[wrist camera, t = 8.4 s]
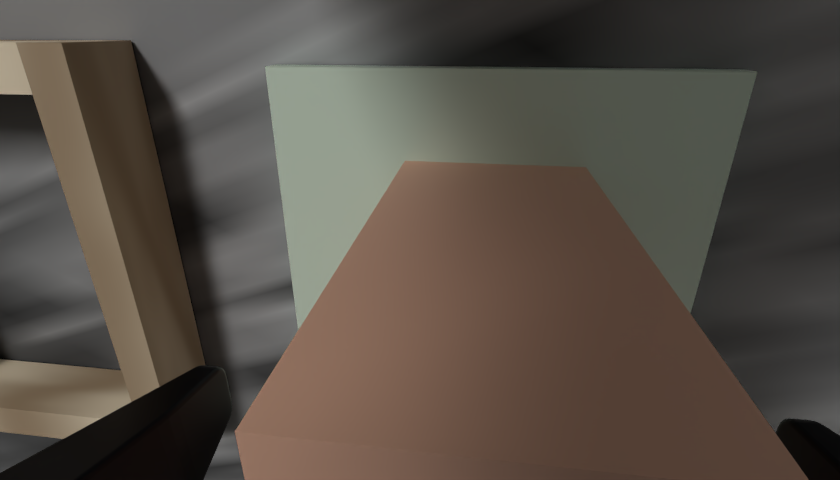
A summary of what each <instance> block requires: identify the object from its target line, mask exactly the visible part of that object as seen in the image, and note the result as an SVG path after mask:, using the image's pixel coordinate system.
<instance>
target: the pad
mask: <svg viewBox="0 0 840 480" xmlns="http://www.w3.org/2000/svg"><path fill="white" fill-rule="evenodd" d="M265 70H266V78H267V86H268V94H269V102H270V110H271V118H272V126H273V134H274V142H275V150H276V158H277V165H278V173H279V181H280V189H281V197H282V205H283V213H284V221H285V229H286V237H287V245H288V253H289V261H290V269H291V277H292V285H293V293H294V301H295V309H296V317H297V325H298V330H299V328H300V327H301V325H302V324H303V322H304V320H305V319H306V317H307V316H308V314H309V312H310V311H311V309H312V308H313V306H314V305H315V303H316V301H317V300H318V298H319V297H320V295H321V293H322V292H323V290H324V289H325V287H326V285H327V284H328V282H329V281H330V279H331V277H332V276H333V274H334V273H335V271H336V270H337V268H338V266H339V265H340V263H341V262H342V260H343V258H344V257H345V255H346V254H347V252H348V250H349V249H350V247H351V246H352V244H353V242H354V241H355V239H356V238H357V236H358V234H359V233H360V231H361V230H362V228H363V227H364V225H365V223H366V222H367V220H368V219H369V217H370V215H371V214H372V212H373V211H374V209H375V207H376V206H377V204H378V203H379V201H380V199H381V198H382V196H383V195H384V193H385V192H386V190H387V188H388V187H389V185H390V184H391V182H392V180H393V179H394V177H395V176H396V174H397V172H398V171H399V169H400V168H401V166H402V164H403V163H404V161H426V162H454V163H482V164H510V165H538V166H567V167H586V168H587V169H588V171H589V172H590V174H591V175H592V176H593V178H594V179H595V181H596V182H597V183H598V185H599V186H600V188H601V189H602V190H603V192H604V193H605V195H606V196H607V197H608V199H609V200H610V202H611V203H612V204H613V206H614V207H615V209H616V210H617V211H618V213H619V214H620V216H621V217H622V218H623V220H624V221H625V223H626V224H627V225H628V227H629V228H630V230H631V231H632V232H633V234H634V235H635V237H636V238H637V239H638V241H639V242H640V244H641V245H642V246H643V248H644V249H645V251H646V252H647V253H648V255H649V256H650V258H651V259H652V261H653V262H654V263H655V265H656V266H657V268H658V269H659V270H660V272H661V273H662V275H663V276H664V277H665V279H666V280H667V282H668V283H669V284H670V286H671V287H672V289H673V290H674V291H675V293H676V294H677V296H678V297H679V298H680V300H681V301H682V303H683V304H684V305H685V307H686V308H687V310H688V311H689V312H690V314H691V310H692V307H693V303H694V300H695V296H696V292H697V289H698V285H699V282H700V278H701V274H702V271H703V267H704V263H705V260H706V256H707V253H708V249H709V245H710V242H711V238H712V235H713V231H714V227H715V224H716V220H717V216H718V213H719V209H720V206H721V202H722V198H723V195H724V191H725V187H726V184H727V180H728V177H729V173H730V169H731V166H732V162H733V159H734V155H735V151H736V148H737V144H738V140H739V137H740V133H741V130H742V126H743V122H744V119H745V115H746V112H747V108H748V104H749V101H750V97H751V93H752V90H753V86H754V83H755V79H756V75H757V71H750V70H744V69H666V68H566V67H466V66H366V65H271V66H265Z"/></svg>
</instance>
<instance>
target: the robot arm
mask: <svg viewBox="0 0 840 480" xmlns="http://www.w3.org/2000/svg"><path fill="white" fill-rule="evenodd" d="M231 412H232V400H231V395H230V391H229V386H228V381H227V376H226V373H225V371H224V369H223V368H221V367H217V366H206V365H200V366H197V367H195V368H193V369H191V370H189V371H187V372H186V373H184V374H182V375H180V376H178V377H176V378H175V379H173V380H171V381H169V382H167V383H165V384H163V385H162V386H160V387H158V388H156V389H154V390H152V391H151V392H149V393H147V394H145V395H143V396H141V397H140V398H138V399H136V400H134V401H132V402H130V403H128V404H127V405H125V406H123V407H121V408H119V409H117V410H116V411H114V412H112V413H110V414H108V415H106V416H104V417H103V418H101V419H99V420H97V421H95V422H93V423H92V424H90V425H88V426H86V427H84V428H82V429H80V430H79V431H77V432H75V433H73V434H71V435H69V436H68V437H66V438H64V439H62V440H60V441H58V442H57V443H55V444H53V445H51V446H49V447H47V448H45V449H44V450H42V451H40V452H38V453H36V454H34V455H33V456H31V457H29V458H27V459H25V460H23V461H21V462H20V463H18V464H16V465H14V466H12V467H10V468H9V469H7V470H5V471H3V472H1V473H0V480H203V479H204V477H205V475H206V472H207V470H208V468H209V465H210V463H211V461H212V458H213V456H214V454H215V451H216V449H217V447H218V444H219V442H220V440H221V437H222V435H223V433H224V430H225V428H226V426H227V423H228V421H229V418H230V416H231ZM776 434H777V436H778V437H779V439H780V440H781V441H782V443H783V444H784V446H785V447H786V448H787V450H788V451H789V453H790V454H791V456H792V457H793V458H794V460H795V461H796V463H797V464H798V465H799V467H800V468H801V470H802V471H803V472H804V474H805V475H806V477H807V478H808V479H809V480H840V436H839V435H838V434H836V433H835V432H833V431H831V430H830V429H828V428H827V427H825V426H824V425H822V424H820V423H818V422H816V421H811V420H801V419H785V420H783V421H782V422H781V423H780V425H779V427H778V429H777V431H776Z"/></svg>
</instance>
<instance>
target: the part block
mask: <svg viewBox="0 0 840 480" xmlns="http://www.w3.org/2000/svg"><path fill="white" fill-rule="evenodd" d="M235 436H236V440H237V445H238V450H239V455H240V459H241V464H242V469H243V473H244V478H245V480H809V479H808V478H807V477H806V475H805V474H804V472H803V471H802V470H801V468H800V467H799V465H798V464H797V463H796V461H795V460H794V458H793V457H792V456H791V454H790V453H789V451H788V450H787V448H786V447H785V446H784V444H783V443H782V441H781V440H780V439H779V437H778V436H777V434H776V433H775V432H774V430H773V429H772V427H771V426H770V425H769V423H768V422H767V420H766V419H765V418H764V416H763V415H762V413H761V412H760V411H759V409H758V408H757V406H756V405H755V404H754V402H753V401H752V399H751V398H750V397H749V395H748V394H747V392H746V391H745V390H744V388H743V387H742V385H741V384H740V383H739V381H738V380H737V378H736V377H735V376H734V374H733V373H732V371H731V370H730V369H729V367H728V366H727V364H726V363H725V362H724V360H723V359H722V357H721V356H720V354H719V353H718V352H717V350H716V349H715V347H714V346H713V345H712V343H711V342H710V340H709V339H708V338H707V336H706V335H705V333H704V332H703V331H702V329H701V328H700V326H699V325H698V324H697V322H696V321H695V319H694V318H693V317H692V315H691V314H690V312H689V311H688V310H687V308H686V307H685V305H684V304H683V303H682V301H681V300H680V298H679V297H678V296H677V294H676V293H675V291H674V290H673V289H672V287H671V286H670V284H669V283H668V282H667V280H666V279H665V277H664V276H663V275H662V273H661V272H660V270H659V269H658V268H657V266H656V265H655V263H654V262H653V261H652V259H651V258H650V256H649V255H648V253H647V252H646V251H645V249H644V248H643V246H642V245H641V244H640V242H639V241H638V239H637V238H636V237H635V235H634V234H633V232H632V231H631V230H630V228H629V227H628V225H627V224H626V223H625V221H624V220H623V218H622V217H621V216H620V214H619V213H618V211H617V210H616V209H615V207H614V206H613V204H612V203H611V202H610V200H609V199H608V197H607V196H606V195H605V193H604V192H603V190H602V189H601V188H600V186H599V185H598V183H597V182H596V181H595V179H594V178H593V176H592V175H591V174H590V172H589V171H588V169H587V168H586V167H567V166H538V165H510V164H482V163H454V162H426V161H404V163H403V164H402V166H401V168H400V169H399V171H398V172H397V174H396V176H395V177H394V179H393V180H392V182H391V184H390V185H389V187H388V188H387V190H386V192H385V193H384V195H383V196H382V198H381V199H380V201H379V203H378V204H377V206H376V207H375V209H374V211H373V212H372V214H371V215H370V217H369V219H368V220H367V222H366V223H365V225H364V227H363V228H362V230H361V231H360V233H359V234H358V236H357V238H356V239H355V241H354V242H353V244H352V246H351V247H350V249H349V250H348V252H347V254H346V255H345V257H344V258H343V260H342V262H341V263H340V265H339V266H338V268H337V270H336V271H335V273H334V274H333V276H332V277H331V279H330V281H329V282H328V284H327V285H326V287H325V289H324V290H323V292H322V293H321V295H320V297H319V298H318V300H317V301H316V303H315V305H314V306H313V308H312V309H311V311H310V312H309V314H308V316H307V317H306V319H305V320H304V322H303V324H302V325H301V327H300V328H299V330H298V332H297V333H296V335H295V336H294V338H293V340H292V341H291V343H290V344H289V346H288V348H287V349H286V351H285V352H284V354H283V355H282V357H281V359H280V360H279V362H278V363H277V365H276V367H275V368H274V370H273V371H272V373H271V375H270V376H269V378H268V379H267V381H266V383H265V384H264V386H263V387H262V389H261V390H260V392H259V394H258V395H257V397H256V398H255V400H254V402H253V403H252V405H251V406H250V408H249V410H248V411H247V413H246V414H245V416H244V418H243V419H242V421H241V422H240V424H239V425H238V427H237V429H236V430H235Z"/></svg>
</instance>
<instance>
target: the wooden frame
mask: <svg viewBox="0 0 840 480" xmlns="http://www.w3.org/2000/svg"><path fill="white" fill-rule="evenodd" d="M0 94H18V95H33V98H34V101H35V104H36V107H37V110H38V113H39V116H40V119H41V123H42V126H43V129H44V132H45V135H46V138H47V141H48V144H49V147H50V150H51V154H52V157H53V160H54V163H55V166H56V169H57V172H58V175H59V178H60V182H61V185H62V188H63V191H64V194H65V197H66V200H67V203H68V206H69V209H70V213H71V216H72V219H73V222H74V225H75V228H76V231H77V234H78V237H79V240H80V244H81V247H82V250H83V253H84V256H85V259H86V262H87V265H88V268H89V272H90V275H91V278H92V281H93V284H94V287H95V290H96V293H97V296H98V299H99V303H100V306H101V309H102V312H103V315H104V318H105V321H106V324H107V327H108V331H109V334H110V337H111V340H112V343H113V346H114V349H115V352H116V355H117V358H118V362H119V365H120V368H121V370H111V369H100V368H90V367H79V366H68V365H58V364H47V363H36V362H26V361H15V360H4V359H0V432H8V433H17V434H25V435H34V436H43V437H52V438H60V439H64V438H66V437H68V436H69V435H71V434H73V433H75V432H77V431H79V430H80V429H82V428H84V427H86V426H88V425H90V424H92V423H93V422H95V421H97V420H99V419H101V418H103V417H104V416H106V415H108V414H110V413H112V412H114V411H116V410H117V409H119V408H121V407H123V406H125V405H127V404H128V403H130V402H132V401H134V400H136V399H138V398H140V397H141V396H143V395H145V394H147V393H149V392H151V391H152V390H154V389H156V388H158V387H160V386H162V385H163V384H165V383H167V382H169V381H171V380H173V379H175V378H176V377H178V376H180V375H182V374H184V373H186V372H187V371H189V370H191V369H193V368H195V367H197V366H200V365H205V361H204V356H203V352H202V348H201V343H200V339H199V335H198V330H197V326H196V321H195V317H194V313H193V308H192V304H191V300H190V295H189V291H188V287H187V282H186V278H185V274H184V269H183V265H182V261H181V256H180V252H179V248H178V243H177V239H176V234H175V230H174V226H173V221H172V217H171V213H170V208H169V204H168V200H167V195H166V191H165V187H164V182H163V178H162V174H161V169H160V165H159V160H158V156H157V152H156V147H155V143H154V139H153V134H152V130H151V126H150V121H149V117H148V113H147V108H146V104H145V100H144V95H143V91H142V87H141V82H140V78H139V73H138V69H137V65H136V60H135V56H134V52H133V47H132V43H131V40H0Z"/></svg>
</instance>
